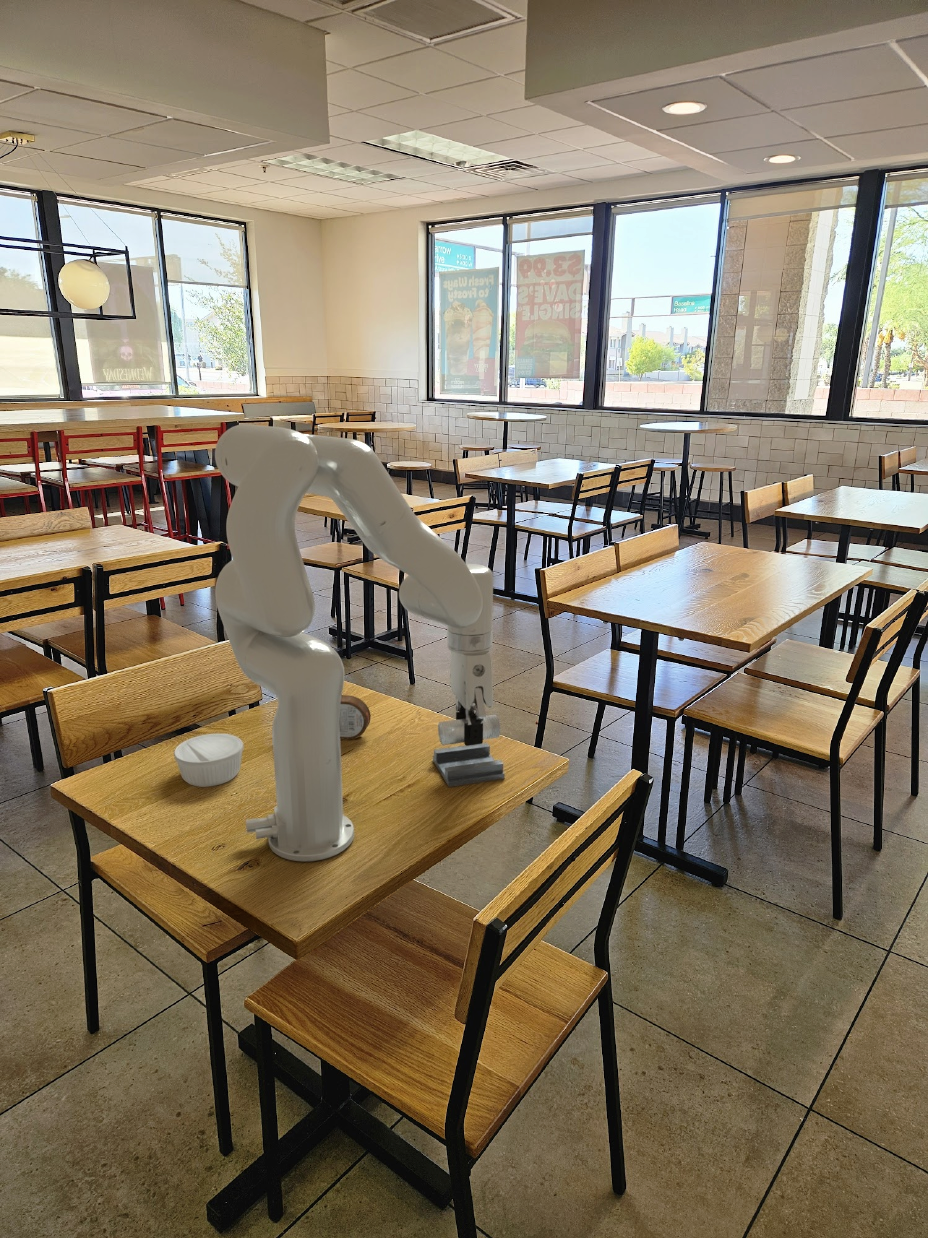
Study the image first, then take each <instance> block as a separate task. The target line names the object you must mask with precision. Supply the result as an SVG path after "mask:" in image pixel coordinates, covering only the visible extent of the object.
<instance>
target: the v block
mask: <svg viewBox="0 0 928 1238" xmlns="http://www.w3.org/2000/svg"><path fill="white" fill-rule="evenodd" d="M490 750H491V746H490V745H489V743H488V742H483V743H482V744H477V745H470V746H466V745H460V746H450V747H444V748H437V749H434V750H433V755H432V761H433V763H434V765H435V767H436V768H437V770H438V772H439V773H440V775H441V777H442V778H443V780H444V781H445V783H446V785H447V787H448V788H451V787H452V788H453V787H458V786H465V785H466V786H467V785H472V784H479V783H485V782H490V781H491V782H492V781H493V782H494V781H499V780H505V777H506V773H505V772H504V763H503V761H502V760H501V759H496V760H495V758H494V757H493V756H492V754H490V753H491V751H490Z"/></svg>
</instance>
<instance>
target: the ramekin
mask: <svg viewBox="0 0 928 1238" xmlns="http://www.w3.org/2000/svg"><path fill="white" fill-rule="evenodd" d="M243 751H244V742H243V740H241V738H240V737H238V736H236V735H233V734H230V733H217V732H216V733H208V734H202V735H201V734H200V735H197V736H194V737H191V738H188V739H186V740H184V741H182V742H181V743H179V745H177V747H176V748H175V749H174V751H173V756H174V760H175V761H176V763H177V767H178V769H179V771H180V775H181V777H182V780H183V781H185V782H186V783H188V785H191V786H194V787H200V788H201V787H202V788H206V787H208V788H209V787H215V786H218V785H219V786H220V785H222V784H225V783H227V782H230V781H232V780H233V779H234V778H235V777H236V776H237V775H238V774H239V772H240V770H241V765H242V756H243V754H242V753H243Z"/></svg>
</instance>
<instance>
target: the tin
mask: <svg viewBox="0 0 928 1238" xmlns="http://www.w3.org/2000/svg"><path fill="white" fill-rule="evenodd" d="M371 718H372V716H371V712H370V709H369V706H368V705H367V704H366V703H365V702H364V701H363V700H362V699H361V698H359V697H356V696H354V695H350V694H349V695H347V694H342V696H341V703H340V740H354V739H356V738H359V737H361V736H362V735H363V734H364V733H365V732H366V730H367V729H368V727H369V725H370V723H371Z"/></svg>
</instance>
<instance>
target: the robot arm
mask: <svg viewBox="0 0 928 1238" xmlns="http://www.w3.org/2000/svg"><path fill="white" fill-rule="evenodd" d="M214 460H215V465H216V467H217V469H218V471H219V473H220V474H221V475H222V477H223V478H224V479H225V480H226V481H227V482H229V483H230V484H231V485H233V486H235V487H237V489H236V491H235V493H234V496H233V498H232V500H231V503H230V507H229V508H228V513H227V518H226V524H225V525H226V526H225V527H226V528H225V529H226V538H227V543H228V548H229V550H230V554H231V558H232V560H230V561H229V562H228V563H226V564H225V565H224V566H223V568H222V569H221V571H220V572H219V574H218V576H217V580H216V582H215V583H216V584H215V591H214V592H215V593H214V594H215V602H216V603H215V604H216V608H217V610H218V613H219V616H220V620H221V622H222V625H223V627H224V630H225V633H226V635H227V639H228V640H229V644H230V646H231V649H232V652H233V655H234V657H235V659H236V662H237V664H238V666H239V668H240V670H241V672H242V673H243V674H244V675H245V676H246V678H247V679H249V680H250V681H251V682H253V683H254V684H256V685H257V686H260V687H262V688H263V689H265V690H266V691H268V692H270V693H271V694H273V695H275V696H276V698H277V708H276V711H275V715H274V717H273V721H272V729H271V730H272V731H271V736H272V738H271V740H272V751H273V752H272V753H273V764H274V765H273V766H274V778H275V779H274V780H275V782H274V783H275V796H276V806H274V807H273V813H272V814H267V817H261V818H251V819H246V820H245V828H246V833H247V834H251V833H255V840H261V839H266V838H268V846H269V848H270V849H271V851H272V852H273V853H274V854H275V855H277V856H279V857H281V858H282V859H286V860H288V861H295V862H316V861H322V860H325V859H326V860H327V859H328V858H331V857H334V856H337V855H339V854H340V853H341V852H343V851H345V850H346V849H348V848H349V846H351V844H352V842H353V840H354V838H355V825H354V823H353V822H352V820H350V817H349V818H348V817H347V816H346V815H344V806H343V805H344V804H343V803H344V802H343V801H344V800H343V779H342V778H343V777H342V753H341V751H342V747H341V739H340V703H341V696H342V695H343V690H344V684H345V668H344V667H345V666H344V664H343V663H344V662H343V661H342V659H341V657H340V655H339V653H338V652H337V651H336V650H335V649H334V648H333V647H332V646H331V645H330V644H328V643H326V642H325V641H323V640H321V639H320V638H317V637H315V636H312V635H310V634H308V633H305V631H306V630H308V629H309V628H310V626H311V625H312V623H313V620H314V618H315V614H316V613H315V612H316V603H315V598H314V593H313V590H312V587H311V584H310V580H309V577H308V574H307V570H306V567H305V563H304V561H303V558H302V554H301V551H300V547H299V542H298V537H297V534H296V524H295V523H296V515H297V513H298V509H299V506H300V505H301V503H302V501H303V498H304V497H305V496H306V495H307V494H311V495H316V496H321V497H325V498H329V499H330V500H332V502H334V503H335V505H336V507H337V509H339V510H340V512H341V513H342V515H343V516H344V517H345V519H346V520H347V522H348V523H349V525H350V526H351V527H352V528H353V530H354V532H356V534H357V536H358V537H359V538H360V540H361V541H362V543H363V544H364V546H365V547H366V548H367V550H369V552H371V553H372V554H373V555H376V557H378V558H380V559H381V560H382V561H383V562H385V563H387V564H388V565H390V566H391V567H394V568H396V569H398V570H399V571H401V572H403V573H404V574H407V576H406V577H405V578H404V579H403V580H402V582H401V584H400V586H399V591H398V598H399V601H400V603H401V605H402V606H403V608H404V609H405V610H406V611H407V612H409V613H411V614H412V615H414V616H417V617H420V618H423V619H426V620H429V621H432V622H435V623H439V624H441V625H444V626H446V627H447V628H446V631H447V632H446V634H447V635H446V638H447V639H446V640H447V642H446V644H447V645H446V646H447V647H446V648H447V649H448V651H450V665H449V666H450V667H449V669H450V670H449V677H450V678H449V679H450V682H449V683H450V690H451V692H452V694H453V695H454V697H455V711H456V712H455V720H459V719H466V723H465V724H464V742H463V743H464V746H470V745H477V744H482V743H484V740H483V723H484V718H486V716H487V714H486V713H487V711H486V708H485V705H486V707H487V708H492V707H493V705H494V688H493V687H494V684H493V682H494V680H493V668H492V666H493V665H492V657H491V652H490V651H491V650H492V649H493V610H494V609H493V607H494V606H493V605H494V603H493V602H494V600H493V599H494V597H493V596H494V577H493V576H494V575H493V572H492V570H491V568H489V567H488V566H486V565H482V564H479V563H466V562H465V561H464V559H462V557H461V556H460V555H459V554H458V553H457V551H455V550H454V548H453V547H451V546H450V545H449V544H448V543H447V542H446V541H445V540H444V539H442V538H441V537H440V536H439V535H438V534H437V533H436V532H435V531H434V530H432V529H431V528H430V526H428V525H427V524H426V523H425V522H423V521H422V520H421V519H420V518H418V516H417V515H416V514H415V513H414V511H413V510H412V508H411V507H410V505H409V504H408V501H407V500H406V499H405V497H404V496H403V494H402V492H401V491H400V490H399V488H398V486H397V485H396V483H395V482H394V480H393V479H392V476H391V475H390V474H389V472H388V471H387V469H386V467H385V466H384V465H383V463H382V461H381V460H380V458H379V457H378V455H377V454H376V452H375V451H374V450H373V449H372V448H371V447H370V446H369V445H368V444H367V443H364V442H363V441H360V440H357V439H352V438H346V437H345V438H344V437H337V436H329V435H328V436H327V435H318V434H307V433H302V432H299V431H297V430H294V429H290V428H288V427H287V428H286V427H281V426H280V427H279V426H271V425H270V426H268V425H258V424H252V423H251V424H250V423H243V424H238V425H234V426H232V427H230V428H228V429H227V430H226V431H225V432H223V433H222V434H221V435H220V437H219V439H218V440H217V443H216V445H215V449H214Z"/></svg>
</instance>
